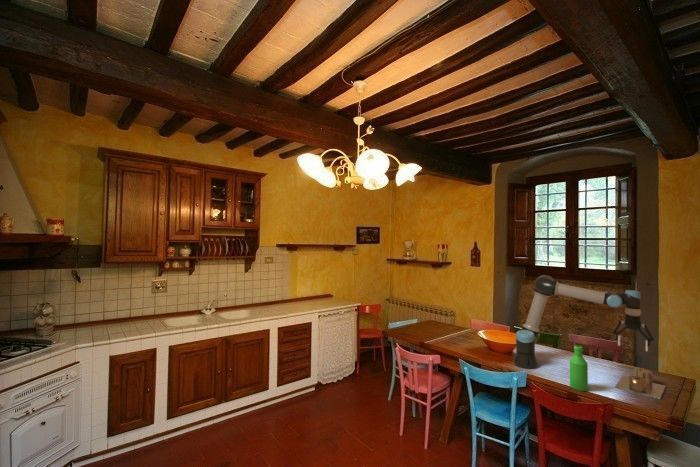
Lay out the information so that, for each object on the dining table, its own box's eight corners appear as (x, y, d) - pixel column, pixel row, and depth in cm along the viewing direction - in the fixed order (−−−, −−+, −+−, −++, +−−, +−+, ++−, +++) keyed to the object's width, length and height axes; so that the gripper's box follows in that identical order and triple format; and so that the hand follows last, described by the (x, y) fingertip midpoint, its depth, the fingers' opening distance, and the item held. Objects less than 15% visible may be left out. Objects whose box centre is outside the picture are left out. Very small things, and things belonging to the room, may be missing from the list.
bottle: (580, 385, 202) (580, 344, 203) (591, 391, 194) (591, 348, 194) (566, 385, 202) (566, 344, 203) (576, 391, 193) (576, 348, 194)
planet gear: (653, 382, 205) (652, 370, 205) (651, 386, 199) (650, 374, 199) (635, 377, 211) (634, 366, 212) (632, 381, 206) (632, 370, 206)
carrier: (660, 400, 183) (659, 385, 184) (614, 387, 199) (614, 374, 199) (665, 387, 200) (665, 373, 200) (623, 376, 215) (623, 364, 215)
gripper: (660, 317, 204) (660, 352, 204) (610, 310, 223) (609, 342, 223) (658, 319, 199) (658, 354, 199) (607, 312, 218) (607, 344, 218)
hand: (632, 348), depth 211 cm, fingers open, 13 cm apart
